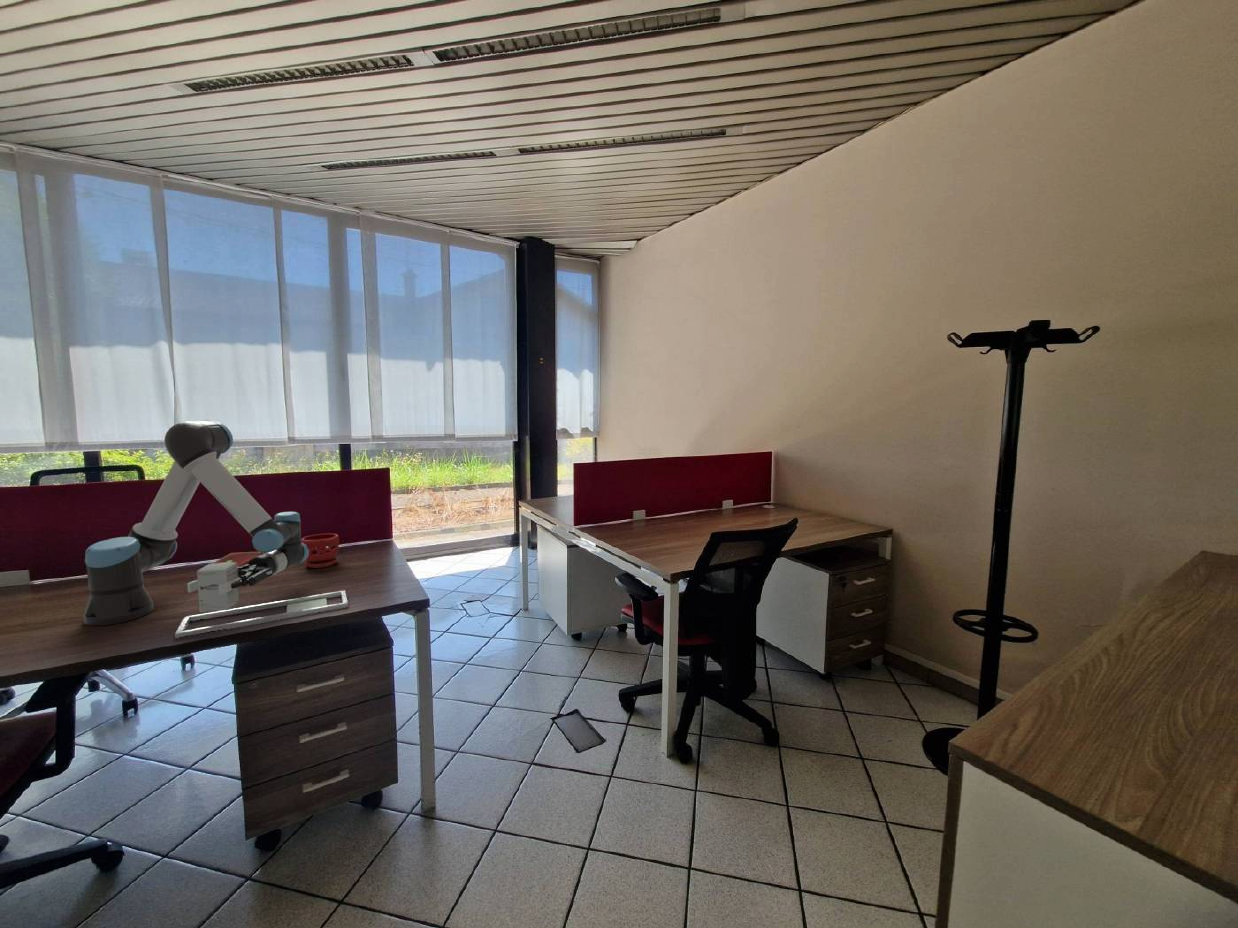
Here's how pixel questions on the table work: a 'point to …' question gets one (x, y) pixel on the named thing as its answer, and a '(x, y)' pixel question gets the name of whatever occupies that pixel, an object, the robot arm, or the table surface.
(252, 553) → the hardcover book
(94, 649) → the table surface
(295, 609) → the pad
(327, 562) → the plant pot
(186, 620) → the rail track
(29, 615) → the table surface
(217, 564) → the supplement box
